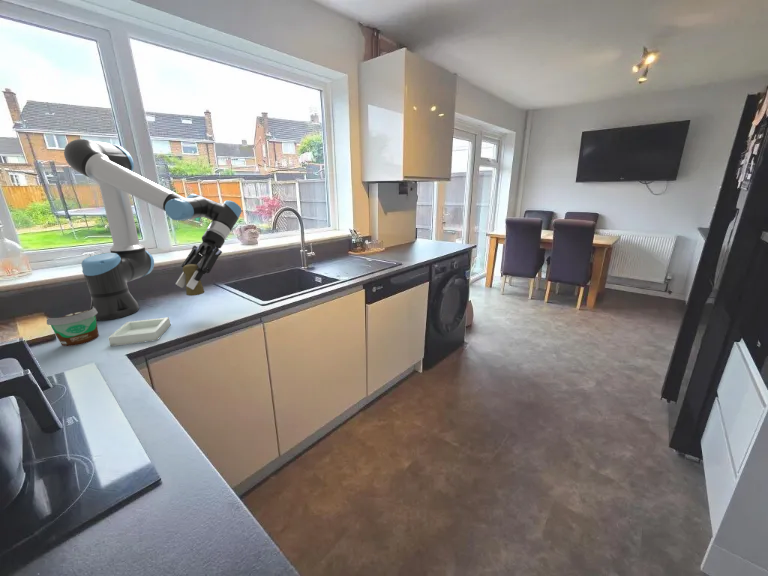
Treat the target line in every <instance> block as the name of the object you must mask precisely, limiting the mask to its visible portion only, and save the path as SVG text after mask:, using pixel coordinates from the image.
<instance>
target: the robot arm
mask: <svg viewBox="0 0 768 576" xmlns="http://www.w3.org/2000/svg"><path fill="white" fill-rule="evenodd" d="M63 150H64V152H63V155H64V160H65V161H66V162H67V164H68V165H69V166H70V167H71V168H72V169H73V170H75V171H76V172H77V173H80V174H82V175H83V176H85V177H88V178H89V179H92V180H93V181H94V182H96V183H97V184H98V186H99V189H100V194H101V198H102V201H103V206H104V210H105V215H106V219H107V223H108V227H109V231H110V235H111V241H112V243H113V245H112V246H111V248H109V251H110V252H105V253H99V254H94V255H92V256H88V257H86V258H84V259H83V260H82V261H81V269H82V270H81V271H82V274H83V276H84V279H85V282H86V286H87V289H88V291H89V292H88V293H89V294H90V299H91V301H90V309H93V307H94V308H95V309H96V311H97V312H98V313H97V314H96V315H95V316H96V321H108V320H115V319H119V318H123V317H127V316H130V315H132V314H135V313H136V311H137V312H138V311H139V309H140V307H139V303H138V301H137V300H136V299H135V298H134V297H133V295H132V293H130V290H129V286H128V283H129V282H132V281H134V280H138V279H141V278H143V277H146V276H147V275H149V274H150V273H151V272H152V271H153V270H154V266H155V260H154V257H153V255H152V254H151V253H150V252H149V250H148V251H147V250H146V246H145V245H144V244H141V243H140V240H139V235H138V232H137V231H138V230H137V227H136V222H135V216H134V211H133V208H132V207H133V206H132V204H131V199H130V195H131V196H133V197H135V198H138V200H140V201H143V202H145V203H148V204H149V205H151V206H154V207H156V208H158V209H160V210H162V211H164V212H165V213H166V216H168V217H169V218H170V219H172V220H173V221H188V220H193V219H194V220H195V219H199V218H205V219H208V220H211V222H210V223H209V226H208V227H207V228H206V230H205V231H204V233H203V235H202V236H201V241H202V242H201V243H200V244H199V245H198V246H196V245H193V246H192V249H191V251H190V252H189V254H188V255H187V257H186V259H184V261H183V263H182V265H181V268H183V267H184V266H185V265H188V264H196V265H197V266H198V267H199V268H197V269H196V270H198V271H195V272H194V274H193V276H192V277H191V279H190V281H189V282H188V284H187V285H186V274H185V273H184V272H183V271H182V272H181V274H180V275H179V277H178V279H177V281H176V282H175V285H177V287H180V288H182V289H184V287H186V286H187V287H189V288H190V289H192V290H194V288H195V286H196V285H197V283H198V281H199V280H201V279H202V278H203V276H204V275H205V274H210V272H211V271H212V269H213V268H214V265H215V263H216V262H217V261H218V259H219V257H220V255H221V254H222V253H223V251H222V250H221V248H222V247H223V245H224V243H226V242H225V240H227V238H228V236H229V235H230V233H231V232H232V230H233V229H234V227H235V225H236V223H237V222H238V220H239V218H240V216H241V215H242V212H243V211H242V208H241V206H240V205H239V204H238V203H236V202H235V201H232V200H229V199H228V200H225V201H224V202H223V203H220V202H217V201H215V200H212V199H209V198H207V197H205V196H202V195H200V194H199V195H198V194H196V193H191V194H189V195H188V196H186V197H184V196H181V195H180V194H178V193H176V192H174V191H172V190H170V189H168V188H166V187H164V186H162V185H160V184H157V183H155V182H154V181H151V180H150V179H147V178H145V177H144V176H141V175H140V174H139V173H136V172H135V171H134V168H135V163H134V159H133V157H132V155H131V154H130V152H129V151H128V150H126V149H125V148H124V147H123V146H120V145H118V144H114V143H112V142H103V141H97V140H90V139H84V138H79V139H78V138H77V139H74V140H72V141H70V142H68V143H67V145H65V147H64V149H63ZM133 171H134V172H133ZM199 263H200V264H199ZM198 264H199V265H198ZM90 309H89V310H90Z"/></svg>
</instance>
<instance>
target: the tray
mask: <svg viewBox="0 0 768 576" xmlns="http://www.w3.org/2000/svg"><path fill="white" fill-rule="evenodd" d="M171 325H172V324H171V320H170V317H161V318H160V317H159V318H151V319H142V320H133V321H126V322H125V323H124V324H123V325H121V326H120V327H119V328H118V329H117V330H115V332H113V333H112V334H110V336H108V337H107V338H108V339H107V340H108V341H109V345H110V347H115V346H116V347H117V346H123V345H132V343H133V344H139V343H138V342H141V343H146V342H145V341H149V342H153V341H152V340H157V341H158V340H159V339H160V338H161V337H162V336H163V335H164V333H166V331H167V330H168V328H170V327H171ZM162 334H163V335H162ZM161 335H162V336H161ZM160 336H161V337H160ZM159 337H160V338H159ZM158 338H159V339H158Z"/></svg>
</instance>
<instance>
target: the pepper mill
mask: <svg viewBox="0 0 768 576" xmlns="http://www.w3.org/2000/svg"><path fill="white" fill-rule="evenodd" d="M197 268H199V265H198V264H197V265H196V264H188V265H185V266H184V267H182V272H184V273H185V274H186V283H185V291H186V293H185V295H186V296H189V297H190V296H191V297H192V296H193V297H194V296H199V295H202V294H204V293H205V288H204V286H203V283H202V281H201V279H200V280H199V281H198V283H197V285H196V286H195V288H194V290H192V289H190V288H189V287H187V286H186V285H187V284H188V282H189V281H190V279H191V277H192V276H193V274H194V272H195V271H198V270H196V269H197Z"/></svg>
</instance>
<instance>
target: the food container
mask: <svg viewBox="0 0 768 576" xmlns="http://www.w3.org/2000/svg"><path fill="white" fill-rule="evenodd" d="M97 313H98V312H97V311H96V309H95V308H94V307H93V309H88V310H87V309H86V310H84V311H76V312H75V311H74V312H71V313H68V314H65V315H62V316H59V317H46V318H47V319H46V325H48V326H51V328H52V330H53V332H54V333H55V337H56V339H58V341H59V343H60V345H61V346H63V347H74V346H79V345H84V344H87V343H90V342H92V341H94V340H97V339H98V337H99V336H100V335H99V330H98V329H99V328H98V323H97V320H96V316H95V315H96V314H97Z"/></svg>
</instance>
